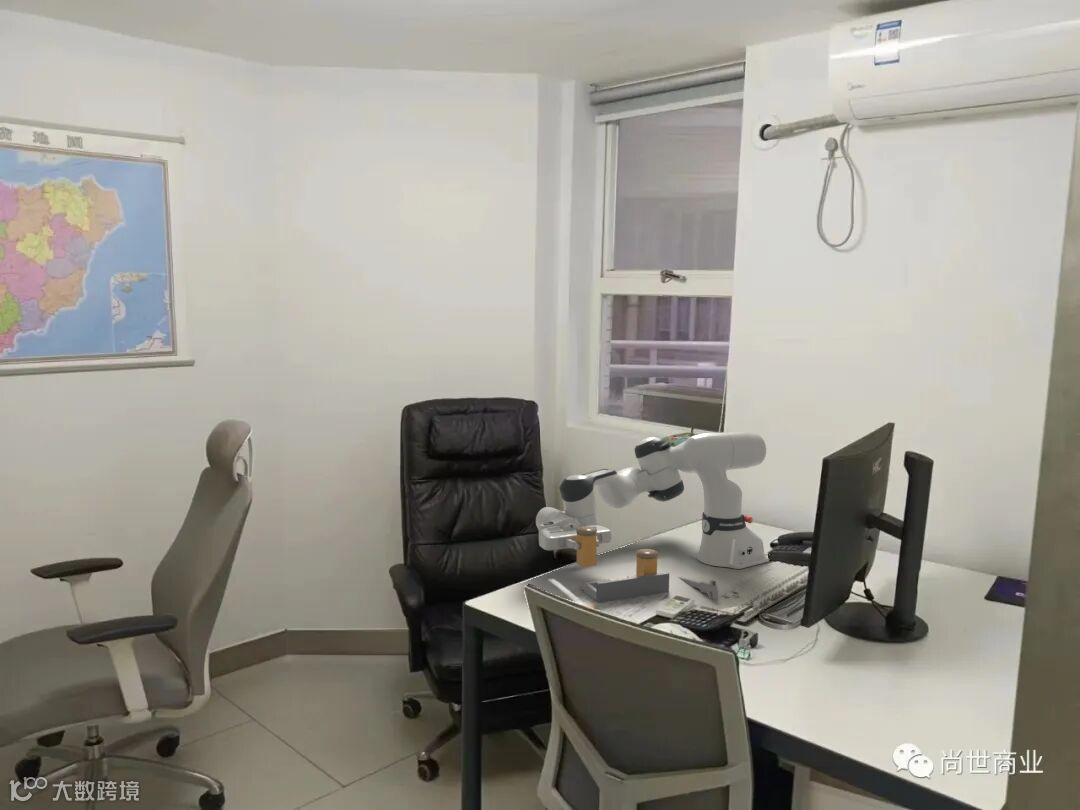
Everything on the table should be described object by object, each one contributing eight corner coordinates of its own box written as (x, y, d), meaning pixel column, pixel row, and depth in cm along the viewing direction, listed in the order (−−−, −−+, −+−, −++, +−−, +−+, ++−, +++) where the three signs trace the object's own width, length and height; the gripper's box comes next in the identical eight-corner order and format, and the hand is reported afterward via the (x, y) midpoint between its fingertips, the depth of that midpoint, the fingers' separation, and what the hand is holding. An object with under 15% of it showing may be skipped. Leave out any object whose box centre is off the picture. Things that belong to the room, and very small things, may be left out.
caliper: (718, 605, 208) (718, 582, 207) (714, 606, 207) (715, 583, 207) (678, 579, 227) (678, 558, 226) (674, 580, 226) (675, 558, 226)
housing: (649, 583, 223) (650, 562, 222) (668, 595, 214) (669, 573, 213) (581, 593, 215) (581, 571, 214) (597, 607, 206) (598, 583, 205)
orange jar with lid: (650, 582, 220) (650, 547, 219) (660, 589, 215) (661, 554, 214) (632, 585, 218) (632, 550, 217) (642, 592, 213) (643, 556, 212)
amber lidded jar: (591, 560, 223) (591, 525, 222) (600, 566, 218) (600, 530, 217) (572, 562, 221) (572, 527, 220) (581, 568, 216) (581, 533, 215)
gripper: (598, 538, 235) (621, 551, 223) (534, 546, 227) (553, 561, 215) (599, 517, 234) (621, 529, 222) (534, 525, 227) (553, 538, 214)
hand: (587, 545), depth 218 cm, fingers closed on amber lidded jar, 4 cm apart
